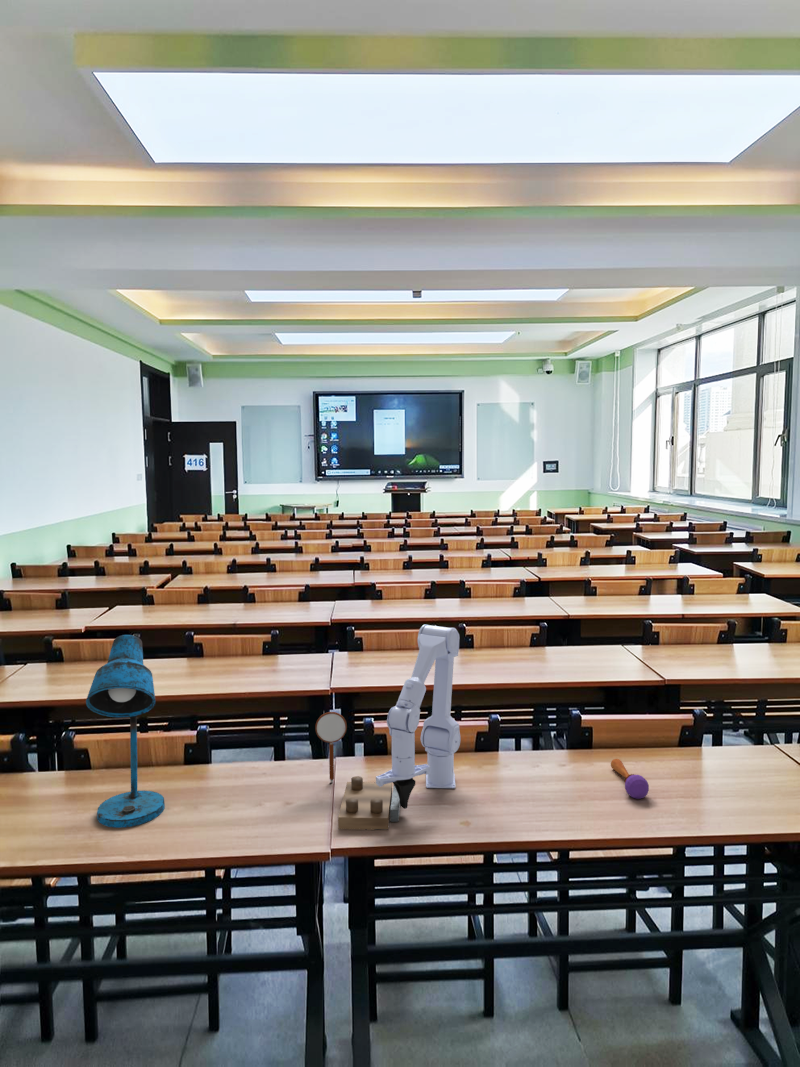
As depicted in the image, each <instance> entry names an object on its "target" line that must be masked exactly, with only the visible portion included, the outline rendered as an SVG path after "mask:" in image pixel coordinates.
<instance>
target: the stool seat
mask: <svg viewBox="0 0 800 1067" xmlns="http://www.w3.org/2000/svg"><path fill="white" fill-rule="evenodd" d="M350 779H351V780H350V781H347V782H346V786H345V789H344V794H343V797H342V800H341V805H340V808H339V812H338V817H337V826H338V827H337V829H338V830H365V829H367V830H368V831H369V830H371V831H372V830H373V831H375V830H374V829H388V830H389V827H388V826H390V818H389V817H390V809H391V801H392V793H393V782H391V783H387V784H384V785H383V786H381V787H379V786H378V785H377V784H376V781H375V782H374V781H373V782H371V781H364V777H362V776H352V777H351V778H350Z"/></svg>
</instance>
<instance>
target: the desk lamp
mask: <svg viewBox="0 0 800 1067" xmlns="http://www.w3.org/2000/svg"><path fill="white" fill-rule="evenodd" d="M85 705H86V707H87V709H89V710H90V711H91V712H93V713H96V714H98V715H101V716H106V717H110V718H111V717H112V718H129V725H130V726H129V729H130V732H129V733H130V735H129V736H130V739H129V740H130V744H129V745H130V791H126V792H123V793H119V794H116V795H113V796H111V797H110V798H108V799H105V800H104V801H103V802H101V804H100V805H99V806H98V807H97V809H96V810H97V811H96V819H97V821H98V823H99V824H101V825H102V826H105V827H108V828H116V829H117V828H120V829H121V828H128V827H129V828H130V827H135V826H139V825H142V824H145V823H148V822H150V821H153V820H155V819H156V818H157V817H159V816H160V815H161V814H162V813H163V812H164V810H165V809H166V808H165V807H166V806H165V797H164V796H163V795H162V794H161V793H159V792H156V791H152V790H146V789H145V790H138V723H137V722H138V720H137V719H138V718H137V716H141V715H143V714H146V713H148V712H150V711H151V710H152V709H154V707H155V706H156V695H155V686H154V678H153V672H152V670H151V669H150V668H148V667H147V666H146V665H144V651H143V641H142V639H141V638H139V637H138V636H135V635H132V634H122V635H119V636H117V637H116V638H115V639H113V641H112V644H111V649H110V652H109V655H108V659H107V663H105V664H104V665H101V667H99V668H98V669H96V672H95V673H94V677H93V680H92V682H91V685H90V688H89V692H88V694H87V697H86V699H85Z"/></svg>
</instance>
